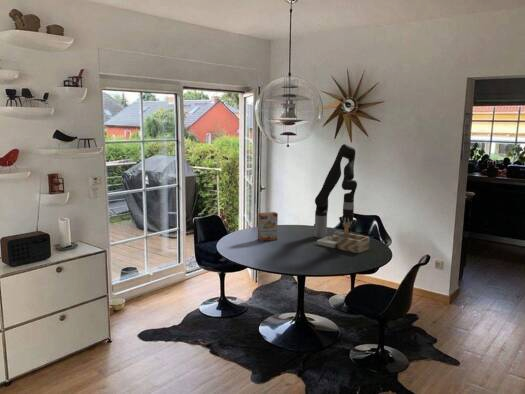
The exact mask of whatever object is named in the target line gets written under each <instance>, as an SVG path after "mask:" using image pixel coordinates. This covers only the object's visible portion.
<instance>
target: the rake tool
mask: <svg viewBox="0 0 525 394" xmlns="http://www.w3.org/2000/svg"><path fill="white" fill-rule="evenodd" d="M343 229H344V228H343ZM343 232H344V234H342V235H341V237H346V238H351V237H352V234H353V233H351V232H350V233H351V234H350V233H349V224H348V222H347V223H345V229H344V230H343Z"/></svg>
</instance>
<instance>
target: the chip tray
mask: <svg viewBox="0 0 525 394" xmlns="http://www.w3.org/2000/svg"><path fill="white" fill-rule="evenodd" d="M331 239H332V236H329V235H328V236H327V235H326V237H325V238H319V239H317V240H316V245H318V246H323V247H327V248H332V249H336V248H337V243H338V242H336V241H331Z"/></svg>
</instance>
